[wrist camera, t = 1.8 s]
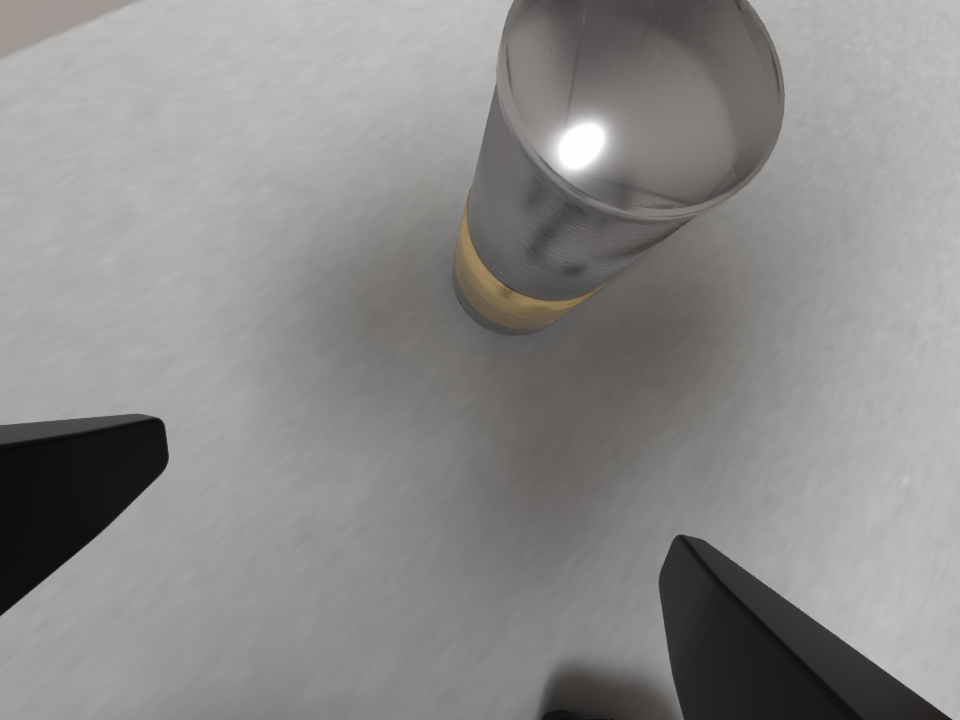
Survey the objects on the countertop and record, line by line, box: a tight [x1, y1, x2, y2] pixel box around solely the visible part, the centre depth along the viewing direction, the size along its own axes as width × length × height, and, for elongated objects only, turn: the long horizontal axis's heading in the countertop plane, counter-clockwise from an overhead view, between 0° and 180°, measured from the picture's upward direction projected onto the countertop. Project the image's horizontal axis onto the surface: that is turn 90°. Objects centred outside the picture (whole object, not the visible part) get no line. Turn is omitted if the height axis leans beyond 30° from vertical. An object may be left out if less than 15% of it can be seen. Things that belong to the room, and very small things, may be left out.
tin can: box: [453, 0, 785, 336], centre depth 15 cm, size 6×6×13 cm
